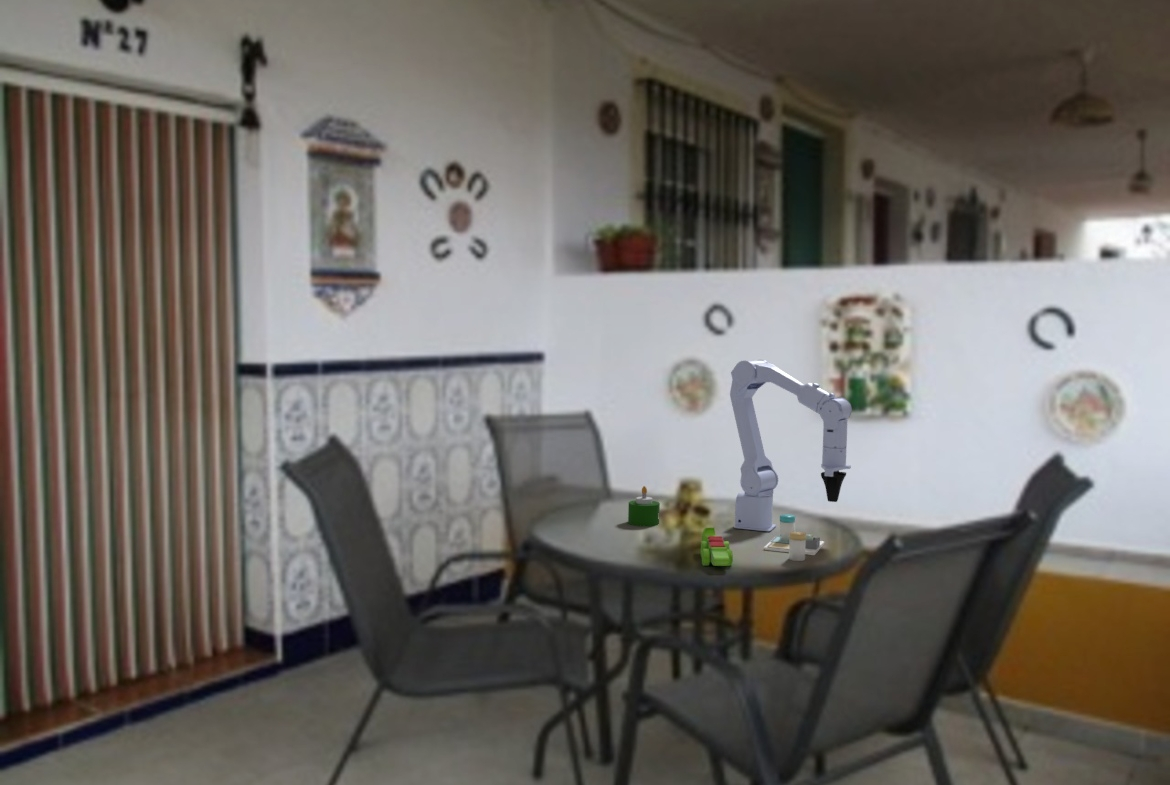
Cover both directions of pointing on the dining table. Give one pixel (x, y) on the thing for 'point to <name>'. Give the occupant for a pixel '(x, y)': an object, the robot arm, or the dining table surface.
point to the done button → (809, 537)
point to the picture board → (781, 546)
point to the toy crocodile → (715, 549)
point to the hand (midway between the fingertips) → (832, 501)
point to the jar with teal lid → (786, 526)
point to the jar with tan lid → (797, 546)
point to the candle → (643, 511)
